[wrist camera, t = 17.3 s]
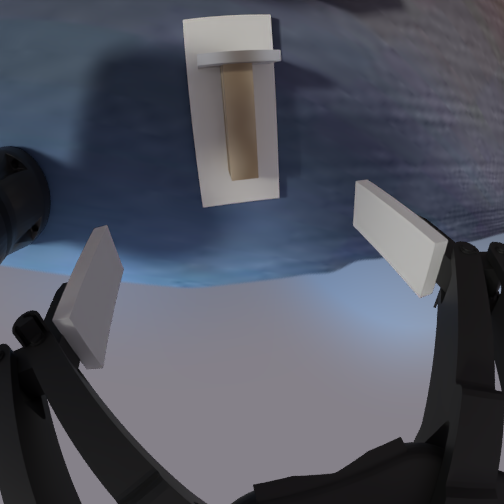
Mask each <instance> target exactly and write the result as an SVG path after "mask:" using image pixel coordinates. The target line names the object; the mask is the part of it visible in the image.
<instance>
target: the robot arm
mask: <svg viewBox="0 0 504 504" xmlns="http://www.w3.org/2000/svg"><path fill="white" fill-rule="evenodd" d="M49 212H50V193H49V188H48V184H47V181H46V178H45V176H44V174H43V172H42V170H41V168H40V167H39V165H38V164H37V162H36V161H35V160H34V159H33V158H32V157H31V156H30V155H29V154H28V153H26V152H25V151H23V150H21V149H19V148H15V147H1V148H0V264H1V263H2V261H3V260H4V259H5V257H6V256H7V255H9V254H11V253H13V252H15V251H17V250H19V249H22V248H24V247H26V246H28V245H29V244H30V243H32V242H33V241H34V240H35V239H36V238H37V236H38V235H39V234H40V233H41V232H42V230H43V229H44V227H45V225H46V223H47V220H48V217H49ZM353 226H354V227H355V228H356V229H357V230H358V231H359V232H360V233H361V234H362V235H363V236H364V237H365V238H366V239H367V240H368V241H369V243H370V244H371V245H372V246H373V247H374V248H375V249H376V250H377V251H378V252H379V253H380V254H381V255H382V256H383V257H384V259H386V261H387V262H388V263H389V264H390V265H391V266H392V267H393V268H394V270H395V271H396V272H397V273H398V274H399V275H400V276H401V277H402V279H403V280H404V281H405V282H406V283H407V284H408V285H409V287H410V288H411V289H412V290H413V291H414V292H415V293H416V295H417V296H418V297H419V298H422V297H424V296H427V295H430V294H432V292H433V289H434V286H435V283H437V284H438V285H439V286H440V287H441V288H440V291H439V293H438V296H437V299H436V302H435V305H434V307H435V308H436V306H437V304H438V312H437V328H436V339H435V349H434V358H433V366H432V373H431V380H430V386H429V392H428V397H427V403H426V407H425V412H424V417H423V422H422V425H421V428H420V430H419V432H418V434H417V436H416V438H415V440H414V442H411V443H403V440H402V438H401V437H399V438H397V439H395V440H393V441H391V442H388V443H386V444H384V445H382V446H379V447H377V448H375V449H372V450H370V451H368V452H367V453H365V454H364V455H362V456H361V457H359V458H358V459H356V460H355V461H353V462H352V463H351V464H349V465H347V466H346V467H344V468H343V469H341V470H340V471H338V472H336V473H332V474H322V475H309V476H291V477H287V478H283V479H279V480H274V481H270V482H265V483H260V484H255V485H253V487H254V491H252V492H250V493H248V494H246V495H244V496H242V497H240V498H239V499H237V500H236V501H234V502H233V503H232V504H504V472H502V471H499V470H498V469H499V462H500V455H501V447H502V438H503V425H504V244H502V243H500V242H499V243H498V242H492V243H490V245H489V249H488V251H487V252H479V250H478V249H477V248H476V247H475V246H473V245H471V244H470V243H467V242H461V241H460V242H456V243H455V242H454V241H453V240H452V239H450V238H449V237H448V236H447V235H446V234H444V233H443V232H442V231H441V230H438V228H437V227H436V226H433V224H432V223H431V222H429V221H428V220H427V219H425V218H423V217H421V216H418V215H416V214H415V213H414V212H412V211H411V210H410V209H408V208H407V207H406V206H404V205H403V204H401V203H400V202H399V201H397V200H396V199H395V198H393V197H392V196H390V195H389V194H388V193H386V192H385V191H383V190H382V189H380V188H379V187H378V186H376V185H375V184H373V183H372V182H370V181H369V180H360V181H356V184H355V203H354V218H353ZM123 270H124V269H123V266H122V263H121V261H120V258H119V256H118V253H117V250H116V248H115V245H114V242H113V240H112V237H111V234H110V231H109V228H108V225H105V226H101V227H97V228H94V230H93V232H92V234H91V235H90V237H89V239H88V241H87V243H86V245H85V247H84V249H83V251H82V253H81V255H80V257H79V259H78V261H77V263H76V266H75V268H74V270H73V272H72V274H71V276H70V279H69V281H68V282H67V283H63V284H62V285H61V287H60V288H59V289H58V290H57V292H56V294H55V296H54V298H53V301H52V303H51V305H50V308H49V310H48V312H47V314H46V317H45V319H44V320H43V319H42V317H41V316H40V314H39V313H38V312H37V311H33V310H32V311H28V312H26V313H24V314H22V315H21V316H20V317H19V318H18V319H17V320H16V322H15V323H14V325H13V328H12V332H13V334H14V335H15V337H16V338H17V340H18V341H19V342H20V343H21V345H22V346H23V347H22V348H20V349H18V350H15V351H12V350H11V348H10V347H9V346H8V345H7V344H1V345H0V491H1V495H2V498H3V502H4V504H81V502H80V499H79V497H78V494H77V492H76V490H75V487H74V485H73V483H72V480H71V477H70V475H69V472H68V469H67V467H66V464H65V461H64V458H63V455H62V452H61V449H60V446H59V443H58V439H57V436H56V432H55V429H54V425H53V421H52V418H51V414H50V409H49V406H48V401H49V403H50V405H51V407H52V409H53V410H54V412H55V414H56V416H57V418H58V419H59V421H60V423H61V424H62V426H63V428H64V429H65V431H66V432H67V434H68V436H69V438H70V439H71V441H72V442H73V444H74V445H75V447H76V448H77V450H78V451H79V453H80V454H81V456H82V457H83V459H84V460H85V462H86V463H87V464H88V466H89V467H90V469H91V470H92V471H93V473H94V474H95V475H96V476H97V478H98V479H99V481H100V482H101V483H102V484H103V485H104V487H105V488H106V489H107V491H108V492H109V493H110V494H111V495H112V497H113V498H114V499H115V500H116V502H117V503H118V504H207V503H205V502H204V501H202V500H201V499H200V498H198V497H197V496H196V495H194V494H193V493H192V492H190V491H189V490H188V489H187V488H186V487H184V486H183V485H182V484H181V483H180V482H179V481H178V480H176V479H175V478H174V477H173V476H172V475H171V474H170V473H169V472H168V471H167V470H165V469H164V468H163V467H162V466H161V465H160V464H159V463H158V462H157V461H156V460H155V459H154V458H153V457H152V456H151V455H150V454H149V453H148V452H147V451H146V450H145V449H144V448H143V447H142V446H141V445H140V444H139V443H138V442H137V440H135V438H134V437H133V436H132V435H131V434H130V433H129V432H128V431H127V430H126V428H125V427H124V426H123V425H122V424H121V423H120V421H119V420H118V419H117V418H116V417H115V416H114V414H113V413H112V412H111V411H110V409H109V408H108V407H107V406H106V405H105V403H104V402H103V401H102V399H101V398H100V397H99V396H98V394H97V393H96V392H95V390H94V389H93V388H92V386H91V385H90V384H89V382H88V381H87V380H86V378H85V377H84V375H83V374H82V373H81V371H80V370H79V369H78V367H79V363H80V361H81V362H82V364H83V365H84V366H85V368H86V369H98V368H103V366H104V359H105V353H106V347H107V342H108V336H109V331H110V326H111V322H112V316H113V312H114V307H115V303H116V299H117V294H118V290H119V286H120V282H121V278H122V274H123ZM500 285H501V294H499V292H498V290H499V288H500ZM494 360H495V364H496V367H497V372H498V375H499V380H500V385H501V389H502V391H496V390H495V365H494ZM47 399H48V401H47Z"/></svg>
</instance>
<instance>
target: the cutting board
mask: <svg viewBox="0 0 504 504" xmlns="http://www.w3.org/2000/svg"><path fill="white" fill-rule="evenodd" d="M183 30H184V43H185V56H186V67H187V78H188V89H189V99H190V108H191V117H192V126H193V135H194V143H195V152H196V160H197V167H198V175H199V183H200V190H201V197H202V204H203V208H204V207H211V206H218V205H225V204H233V203H241V202H249V201H257V200H265V199H274V198H279V167H278V138H277V115H276V94H275V75H274V63H271V64H262V65H252V69H253V85H254V102H255V119H256V137H257V156H258V175H259V178H254V179H245V180H236V181H232V180H231V177H230V174H229V171H228V161H227V149H226V138H225V126H224V114H223V101H222V88H221V75H220V67H213V68H204V69H198V65H197V54H202V53H212V52H224V51H240V50H273V42H272V28H271V15H229V16H215V17H204V18H194V19H186V20H183Z"/></svg>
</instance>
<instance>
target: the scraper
mask: <svg viewBox="0 0 504 504" xmlns="http://www.w3.org/2000/svg"><path fill="white" fill-rule="evenodd" d="M278 61H281V50H240V51H224V52H212V53H202V54H197V65H198V69H204V68H213V67H220V75H221V88H222V101H223V114H224V126H225V138H226V149H227V161H228V171H229V174H230V177H231V180H232V181H236V180H245V179H254V178H259V175H258V156H257V137H256V119H255V102H254V85H253V69H252V65H262V64H271V63H274V62H278Z"/></svg>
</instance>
